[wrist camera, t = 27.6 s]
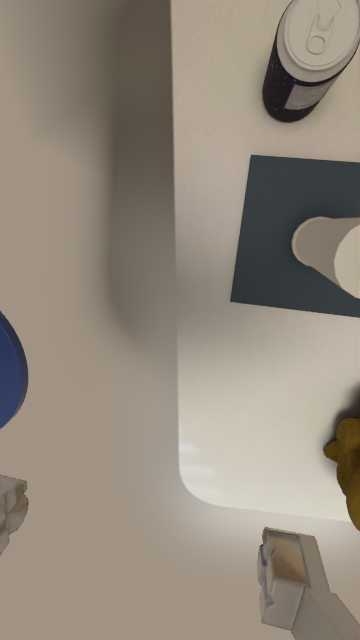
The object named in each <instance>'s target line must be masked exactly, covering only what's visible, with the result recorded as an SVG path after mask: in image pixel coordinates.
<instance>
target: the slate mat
mask: <svg viewBox="0 0 360 640" xmlns="http://www.w3.org/2000/svg"><path fill="white" fill-rule="evenodd" d="M315 217H326V218H331V219H339V218H359V217H360V163H357V162H343V161H329V160H315V159H301V158H287V157H273V156H259V155H251V160H250V167H249V174H248V181H247V188H246V195H245V202H244V209H243V216H242V223H241V230H240V237H239V244H238V251H237V258H236V265H235V273H234V280H233V287H232V294H231V302H236V303H244V304H253V305H261V306H269V307H277V308H285V309H293V310H302V311H310V312H318V313H326V314H334V315H342V316H350V317H359V318H360V298H356V297H354V296H353V295H351V294H350V293H348V292H347V291H345V290H344V289H342V288H341V287H339V286H338V285H337V284H335V283H334V282H333V281H331V280H330V279H328V278H327V277H326V276H324V275H323V274H321V273H320V272H319V271H317V270H316V269H315V268H313V267H312V266H306V265H305V264H303V263H302V262H300V261H299V260H297V258H296V257H295V255H294V253H293V252H292V246H291V240H292V237H293V233H294V232H295V230H296V229H297V227H298V226H299V225H300V224H302V223H303V222H305V221H306V220H308V219H311V218H315Z"/></svg>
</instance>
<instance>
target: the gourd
mask: <svg viewBox="0 0 360 640" xmlns="http://www.w3.org/2000/svg"><path fill="white" fill-rule="evenodd" d="M336 437H337V439H338V440H336V441H334V442H332V443H331V444H329V445H328V446H327V447H326V448H325V449H324V454H325V456H326V457H327V458H329V459H331V460H334V461H336V462H337V463H338V466H337V480H338V483H339V485H340V487H341V489H342V492H343V494H344V495H345V496H346V504H347V509H348V513H349V516H350V519H351V520H352V522H353V524H354V526H355V527H356V528H357V529H358V530H359V531H360V419H359V418H347V419H344V420H343V421H342V422H341V423H340V424H339V426H338V427H337V432H336Z"/></svg>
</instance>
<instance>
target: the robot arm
mask: <svg viewBox="0 0 360 640" xmlns="http://www.w3.org/2000/svg"><path fill="white" fill-rule="evenodd" d="M26 490H27V483H26V481H24V480H21V479H16V478H11V477H7V476H3V475H0V555H1V554H2V552H3V551H4V549H5V548H6V546H7V545H8V543H9V535H10V534H11V533H13V532H14V531H16V530H18V528H19V527H20V526H21V524H22V522H23V521H24V518H25V516H26V513H27V510H28V498H27V497H26V495H25V494H24V492H25V491H26ZM262 538H263V544H262V545H260V548H259V553H258V581H259V583H260V584H261V586H262V589H261V593H260V609H261V620H262V623H264V624H267V625H271V626H275V627H279V628H283V629H286V630H290V631H292V632H291V633H292V635H293V636H294V638H295V640H360V624H359V623H358V622H357V620H356V619H355V618H354V616H353V615H352V614H351V613H350V611H349V610H348V609H347V607H346V606H345V605H344V604H343V602H342V601H341V600H340V599H339V597H338V596H337V595H336V594H334V593H330V589H329V585H328V582H327V578H326V574H325V571H324V567H323V563H322V560H321V556H320V553H319V549H318V545H317V541H316V539H315V537H314V536H310V535H305V534H299V533H296V532H290V531H285V530H279V529H273V528H268V527H265V528H264V530H263V534H262Z"/></svg>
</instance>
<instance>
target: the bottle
mask: <svg viewBox="0 0 360 640" xmlns="http://www.w3.org/2000/svg"><path fill="white" fill-rule="evenodd" d="M291 246H292V252H293V253H294V255H295V257H296V258H297V260H299V261H300V262H302V263H303V264H305V265H306V266H312V267H313V268H315V269H316V270H317V271H319V272H320V273H321V274H323V275H324V276H326V277H327V278H328V279H330V280H331V281H333V282H334V283H335V284H337V285H338V286H339V287H341V288H342V289H344V290H345V291H347V292H348V293H350V294H351V295H353V296H354V297H356V298H360V217H359V218H339V219H331V218H326V217H315V218H311V219H308V220H306V221H305V222H303V223H302V224H300V225H299V226H298V227H297V229H296V230H295V232H294V233H293V237H292V240H291Z"/></svg>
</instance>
